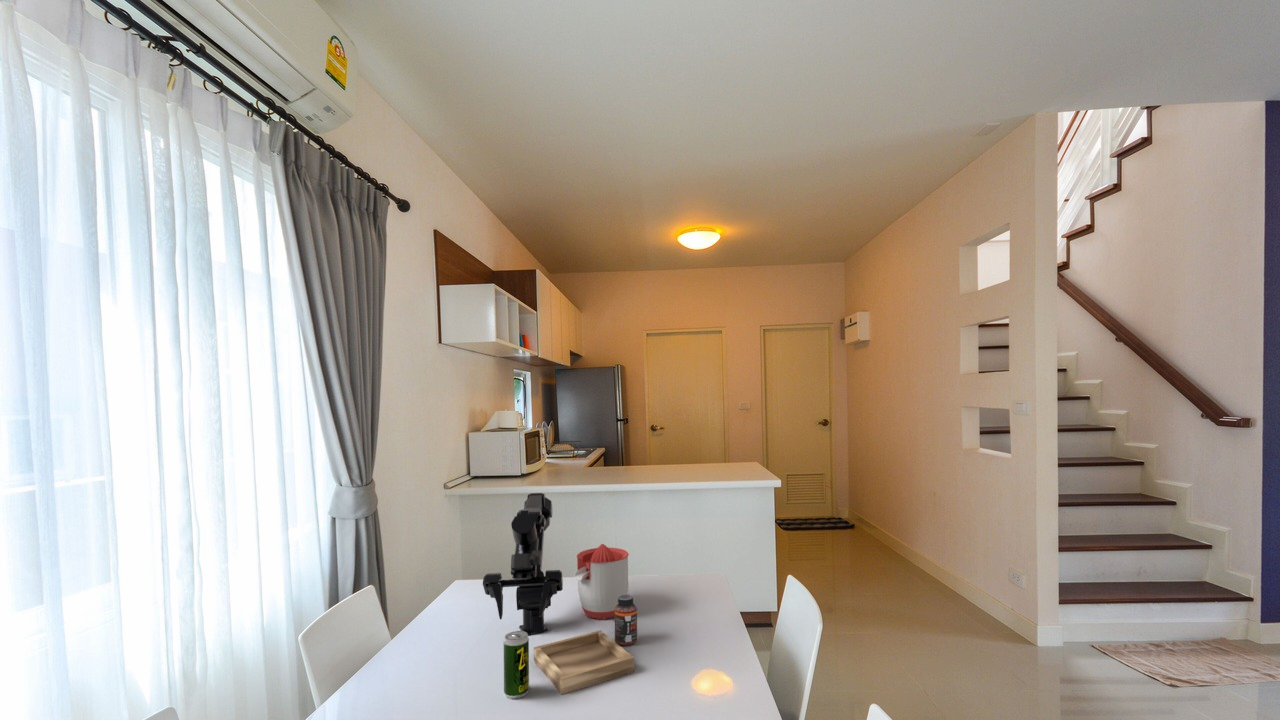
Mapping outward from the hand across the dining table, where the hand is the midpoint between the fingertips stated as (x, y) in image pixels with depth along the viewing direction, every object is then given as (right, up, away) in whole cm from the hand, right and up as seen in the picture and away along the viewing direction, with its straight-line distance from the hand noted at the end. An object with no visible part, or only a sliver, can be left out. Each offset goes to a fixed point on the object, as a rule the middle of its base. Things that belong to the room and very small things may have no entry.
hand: (520, 617), depth 126 cm
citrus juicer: (+16, -16, +35) cm, 42 cm away
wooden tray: (+14, -13, +3) cm, 19 cm away
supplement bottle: (+24, -14, +15) cm, 32 cm away
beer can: (+1, -13, -8) cm, 15 cm away
